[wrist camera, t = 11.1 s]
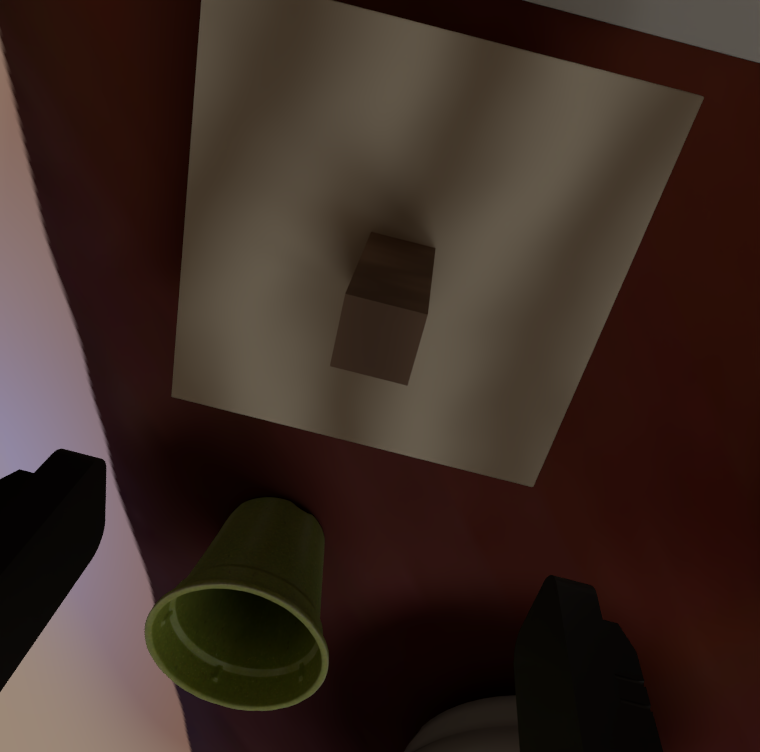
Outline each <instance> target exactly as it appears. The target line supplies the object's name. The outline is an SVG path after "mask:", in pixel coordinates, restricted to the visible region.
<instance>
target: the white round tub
mask: <svg viewBox="0 0 760 752" xmlns="http://www.w3.org/2000/svg"><path fill="white" fill-rule="evenodd" d="M403 752H520V748H519V734H518V720H517V706H516V695H509V696H498V697H490V698H484V699H479V700H475V701H471V702H467V703H464V704H461V705H458V706H456V707H453V708H451V709H448V710H446V711H444V712H442V713H441V714H439V715H437V716H435V717H434V718H432V719H431V720H429V721H428V722H427V723H426V724H425V725H423V726H422V727H421V728H420V729H419V730H418V732H417V733H416V734H415V735H414V737H413V738H412V740H411V741H410V743H409V744H408V745H407V747H406V748H405V750H404V751H403Z"/></svg>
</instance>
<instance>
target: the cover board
mask: <svg viewBox="0 0 760 752" xmlns="http://www.w3.org/2000/svg"><path fill="white" fill-rule="evenodd" d="M703 99H704V97H702V96H700V95H697V94H693V93H689V92H686V91H682V90H678V89H674V88H670V87H666V86H662V85H658V84H655V83H651V82H647V81H643V80H639V79H635V78H631V77H628V76H624V75H620V74H616V73H612V72H608V71H604V70H601V69H597V68H593V67H589V66H585V65H581V64H577V63H574V62H570V61H566V60H562V59H558V58H554V57H550V56H547V55H543V54H539V53H535V52H531V51H527V50H523V49H520V48H516V47H512V46H508V45H504V44H500V43H496V42H493V41H489V40H485V39H481V38H477V37H473V36H469V35H465V34H462V33H458V32H454V31H450V30H446V29H442V28H438V27H435V26H431V25H427V24H423V23H419V22H415V21H411V20H408V19H404V18H400V17H396V16H392V15H388V14H384V13H381V12H377V11H373V10H369V9H365V8H361V7H357V6H354V5H350V4H346V3H342V2H338V1H334V0H201V12H200V25H199V39H198V52H197V65H196V78H195V92H194V105H193V118H192V131H191V145H190V158H189V171H188V184H187V198H186V211H185V224H184V238H183V251H182V264H181V277H180V291H179V304H178V317H177V330H176V344H175V357H174V370H173V384H172V397H175V398H179V399H183V400H187V401H191V402H195V403H199V404H203V405H207V406H211V407H215V408H219V409H223V410H227V411H231V412H235V413H239V414H243V415H247V416H251V417H255V418H259V419H263V420H267V421H271V422H275V423H279V424H283V425H287V426H291V427H295V428H299V429H303V430H307V431H311V432H315V433H319V434H323V435H327V436H331V437H335V438H339V439H343V440H347V441H351V442H355V443H359V444H363V445H367V446H371V447H375V448H379V449H383V450H387V451H391V452H395V453H399V454H403V455H407V456H411V457H415V458H419V459H423V460H427V461H431V462H435V463H439V464H443V465H447V466H451V467H454V468H458V469H462V470H466V471H470V472H474V473H478V474H482V475H486V476H490V477H494V478H498V479H502V480H506V481H510V482H514V483H518V484H522V485H526V486H530V487H533V486H534V484H535V481H536V479H537V477H538V474H539V472H540V470H541V468H542V465H543V463H544V461H545V458H546V456H547V454H548V452H549V449H550V447H551V445H552V443H553V440H554V438H555V436H556V433H557V431H558V429H559V427H560V424H561V422H562V420H563V417H564V415H565V413H566V411H567V408H568V406H569V404H570V402H571V399H572V397H573V395H574V392H575V390H576V388H577V386H578V383H579V381H580V379H581V376H582V374H583V372H584V370H585V367H586V365H587V363H588V361H589V358H590V356H591V354H592V351H593V349H594V347H595V345H596V342H597V340H598V338H599V335H600V333H601V331H602V329H603V326H604V324H605V322H606V320H607V317H608V315H609V313H610V310H611V308H612V306H613V304H614V301H615V299H616V297H617V294H618V292H619V290H620V288H621V285H622V283H623V281H624V279H625V276H626V274H627V272H628V269H629V267H630V265H631V263H632V260H633V258H634V256H635V253H636V251H637V249H638V247H639V244H640V242H641V240H642V237H643V235H644V233H645V231H646V228H647V226H648V224H649V222H650V219H651V217H652V215H653V212H654V210H655V208H656V206H657V203H658V201H659V199H660V196H661V194H662V192H663V190H664V187H665V185H666V183H667V181H668V178H669V176H670V174H671V171H672V169H673V167H674V165H675V162H676V160H677V158H678V155H679V153H680V151H681V149H682V146H683V144H684V142H685V140H686V137H687V135H688V133H689V130H690V128H691V126H692V124H693V121H694V119H695V117H696V114H697V112H698V110H699V108H700V105H701V103H702V101H703Z"/></svg>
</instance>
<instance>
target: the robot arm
mask: <svg viewBox="0 0 760 752" xmlns="http://www.w3.org/2000/svg"><path fill="white" fill-rule="evenodd" d="M105 503H106V463H105V461H104V460H103V459H100V458H96V457H92V456H88V455H85V454H81V453H77V452H73V451H69V450H65V449H59V450H56V451H55V452H54V453H53V454H52V455H51V456H50V457H49V458H48V459H47V460H46V461H45V462H44V463H43V464H42V465H41V466H40V467H39V468H38V469H37V470H36V472H35V473H31V472H27V471H23V470H17V471H16V472H13V473H12V474H10V475H8V476H6V477H4V478H2V479H0V692H1V690H2V689H3V687H4V686H5V684H6V683H7V681H8V680H9V678H10V677H11V676H12V674H13V673H14V671H15V670H16V668H17V667H18V665H19V664H20V663H21V661H22V659H23V658H24V657H25V655H26V654H27V652H28V651H29V649H30V648H31V647H32V645H33V644H34V642H35V641H36V639H37V638H38V636H39V635H40V633H41V632H42V631H43V629H44V628H45V626H46V625H47V623H48V622H49V620H50V619H51V617H52V616H53V615H54V613H55V612H56V610H57V609H58V607H59V606H60V605H61V603H62V602H63V600H64V599H65V597H66V596H67V594H68V593H69V592H70V590H71V589H72V587H73V586H74V584H75V583H76V581H77V580H78V578H79V577H80V576H81V574H82V573H83V571H84V570H85V568H86V567H87V565H88V564H89V563H90V561H91V560H92V558H93V556H94V555H95V553H96V551H97V549H98V546H99V544H100V541H101V539H102V535H103V531H104V526H105ZM514 679H515V693H516V706H517V720H518V734H519V748H520V752H663V750H662V746H661V742H660V739H659V735H658V731H657V727H656V724H655V720H654V716H653V712H650V706H651V705H650V701H649V697H648V694H647V690H646V687H644V686H643V683H644V679H643V675H642V671H641V668H640V664H639V660H638V656H637V653H636V651H635V649H634V648H633V646H632V645H631V643H630V641H629V640H628V638H627V637H626V635H625V634H624V632H623V631H622V629H621V628H620V626H619V625H618V624H617V623H614V622H610V621H606V620H602V615H601V611H600V606H599V602H598V597H597V594H596V591H595V588H594V587H593V586H591V585H588V584H584V583H580V582H576V581H572V580H568V579H565V578H561V577H557V576H553V575H550V576H548V577H547V578H546V579H545V581H544V583H543V585H542V587H541V589H540V591H539V593H538V595H537V597H536V599H535V601H534V603H533V605H532V607H531V609H530V611H529V613H528V615H527V617H526V619H525V621H524V623H523V625H522V627H521V629H520V631H519V634H518V637H517V641H516V645H515V652H514Z"/></svg>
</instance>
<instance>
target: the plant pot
mask: <svg viewBox="0 0 760 752" xmlns="http://www.w3.org/2000/svg"><path fill="white" fill-rule="evenodd" d="M323 560H324V534H323V531H322V528H321V526H320V524H319V523H318V521H317V520H316V519H315V517H314V516H313V515H311V514H308V513H306V512H304V511H303V510H301V509H300V508H298V507H297V506H296V505H294V504H293V503H292V502H291V501H288V500H285V499H280V498H274V497H263V498H256V499H252V500H249V501H246V502H244V503H242V504H241V505H240V506H239V507H238V508H237V509H236V510H235V511H234V512H233V513H232V514H231V515H230V516H229V518H228V519H227V520H226V522H225V523H224V525H223V526H222V528H221V529H220V531H219V532H218V534H217V535H216V537H215V538H214V540H213V541H212V543H211V544H210V546H209V547H208V549H207V550H206V552H205V553H204V555H203V556H202V557H201V559H200V560H199V562H198V563H197V565H196V566H195V567H194V569H193V570H192V572H191V573H190V574H189V576H188V577H187V578H186V579H184V580H183V581H182V582H181V583H180V584H179V585H178V586H177V587H176V588H175V589H173V590H172V591H170V592H168V593H167V594H165V595H164V596H163V597H162V598H161V599H160V600H159V601H158V602H157V603H156V604H155V605H154V607H153V608H152V610H151V611H150V613H149V615H148V617H147V620H146V623H145V639H146V645H147V648H148V650H149V653H150V654H151V656H152V658H153V660H154V661H155V662H156V664H157V666H158V667H159V668H160V669H161V670H162V671H163V673H165V674H166V675H167V676H168V677H169V678H170V679H171V680H172V681H173V682H174V683H175V684H177V685H178V686H180V687H181V688H183V689H184V690H186V691H188V692H189V693H191V694H193V695H195V696H197V697H198V698H201V699H203V700H206V701H208V702H211V703H215V704H219V705H222V706H225V707H229V708H233V709H238V710H248V711H255V710H259V711H267V710H275V709H279V708H285V707H289V706H292V705H295V704H297V703H299V702H301V701H303V700H305V699H306V698H308V697H310V696H311V695H312V694H313V693H315V692H316V691H317V690H318V688H319V687H320V686H321V685H322V683H323V682H324V680H325V677H326V675H327V671H328V664H329V652H328V647H327V644H326V641H325V639H324V637H323V630H322V624H321V621H320V606H321V588H322V573H323Z"/></svg>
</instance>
